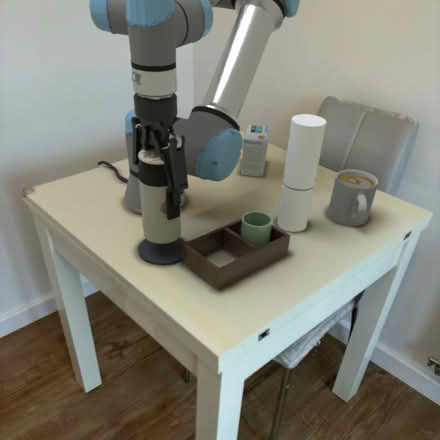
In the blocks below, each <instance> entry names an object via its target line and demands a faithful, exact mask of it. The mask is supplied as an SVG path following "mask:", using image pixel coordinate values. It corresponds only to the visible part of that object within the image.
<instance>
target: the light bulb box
mask: <svg viewBox="0 0 440 440" xmlns="http://www.w3.org/2000/svg"><path fill="white" fill-rule="evenodd" d="M269 135H270V126H267V125H254V124H247V125H246V128H245V133H244V135H243V136H244V137H243V138H242V139H243V146H242V150H241V165H240V166H241V167H240V175H241V176H242V175H243V176H253V177H260V178H261V177H262V178H263V177H264V173H265V166H266V160H267V153H268V152H267V151H268V143H269V137H270V136H269Z"/></svg>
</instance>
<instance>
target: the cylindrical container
mask: <svg viewBox="0 0 440 440" xmlns="http://www.w3.org/2000/svg"><path fill="white" fill-rule="evenodd" d="M290 121H291V122H290V129H289V135H288V143H287V151H286V158H285V164H284V171H283V179H282V185H281V186H282V187H281V194H280V200H279V207H278V208H279V209H278V216H277V226H278V228H279V229H281V230H283V231H285V232H286V231H287V232H292V233H299V232H302V231H305V230H306V229H307V227H308V221H309V216H310V211H311V206H312V200H313V196H314V190H315V184H316V181H317V180H316V178H317V174H318V169H319V163H320V158H321V152H322V149H323V142H324V136H325V132H326V131H325V130H326V126H327V120H326V118H324V117H321V116H320V115H315V114H311V113H310V114H309V113H301V114H295V115H293V116H292V117H291V120H290Z"/></svg>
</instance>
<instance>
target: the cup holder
mask: <svg viewBox="0 0 440 440" xmlns="http://www.w3.org/2000/svg"><path fill="white" fill-rule="evenodd" d="M241 221H242V217H241V218H239V219H236V220H234V221H232V222H229V223H228V224H227V223H226V224H225V225H223V226H220V227H218V228H216V229H214V230H211V231H208V232H206V233H204V234H202V235H199V236H196V237H194V238H193V239H190V240H188V241H186V242H185V243H183V244H182V260H181V261H182V262H181V263H182V265H184V266H185V267H186V268H188V269H189V270H190V271H191V272H193V273H194V274H195V275H197V276H198V277H199V278H201V280H203V281H204V282H205V283H207V284H208V285H209V286H211V287H212V288H213V289H215V290H216V291H217V292H218V291H220V290H222V289H224V288H226V287H228V286H230V285H231V284H234V283H235V282H237V281H240V280H241V279H243V278H245V277H247V276H249V275H250V274H252V273H254V272H256V271H258V270H260V269H262V268H264V267H266V266H268V265H270V264H272V263H273V262H275V261H277V260H279V259H281V258H282V257H285V256H287V255H288V253H289V248H290V247H289V246H290V241H291V234H289V233H287V232H286V231H285V230H283V229H282V228H280V227H277V226H276V225H274V224H272V228H271V236H270V243H268V244H266V245H264V246H262V247H260V248H258V247H256V246H255V245H253V244H252V243H250V242H249V241H247V240H246V239H244V238H242V237H241V236H240V233H241ZM222 248H223V249H225V250H226V251H228V252H229V253H231V254H233V256H235V257H237V258H236V259H234V260H232V261H229V262H228V263H225V264H223V265H222V266H217V265H216V264H215V263H214V262H212V261H211V260H209V259H208V258H207V257H205V256H207V255H209V254H212V253H214V252H216V251H218V250H220V249H222Z"/></svg>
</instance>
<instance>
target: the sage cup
mask: <svg viewBox="0 0 440 440" xmlns="http://www.w3.org/2000/svg"><path fill="white" fill-rule="evenodd" d="M241 218H242V221H241V233H240V236H241V237H242V238H244V239H246V240H247V241H249V242H250V243H252V244H253V245H255V246H256V247H258V248H260V247H262V246H264V245H266V244H268V243H270V236H271V228H272V225H273V218H272V216H271V215H270V214H268V213H266V212H264V211H258V210H254V211H253V210H252V211H247V212H245V213H244V214H243V215H242V216H241Z"/></svg>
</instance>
